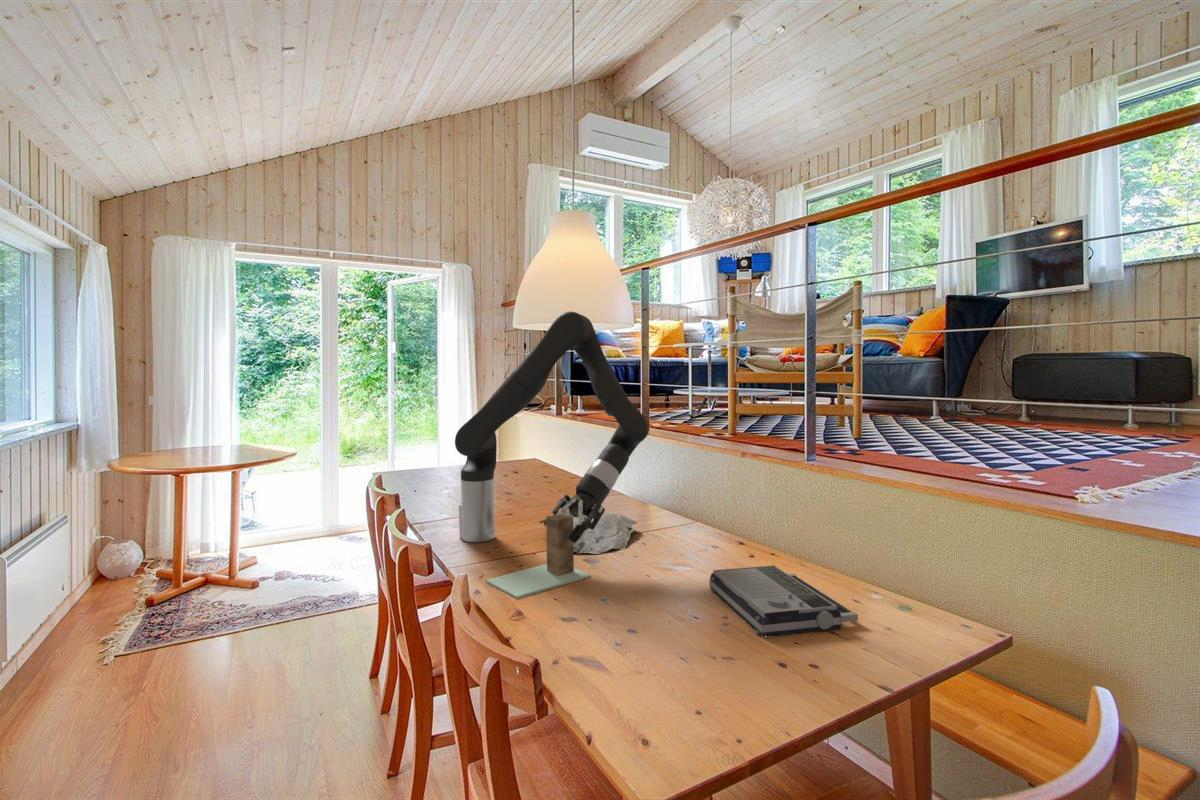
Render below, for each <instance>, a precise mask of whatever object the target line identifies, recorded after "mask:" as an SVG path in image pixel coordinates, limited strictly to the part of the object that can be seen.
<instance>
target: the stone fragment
mask: <svg viewBox="0 0 1200 800" xmlns="http://www.w3.org/2000/svg"><path fill="white" fill-rule="evenodd" d="M593 520H594V519H592V520H591V522H593ZM538 522H539V524H543V525H544V526H543V527H545V529H547V527H546V518H545V519H543V520H539V521H538ZM637 524H638V523H637V521H636V520H634V519H632V518H630V517H628V516H625V515H623V514H621V513H616V512H604V513H603V515H602V516H601V518H600V520H599V521H598V523H597V525H596V526H595V528H594V529H593V530H591V529H587V530H585V531H584V532H583V534H582V535H581V537H580V539H579V540H578V541H577V542H576V543H574V542H573V544H574V553H576V554H577V555H579V554H588V553H589V554H593V555H598V554H603V553H605V552H608V551H609V550H612V549H614V550H616V551H618V550H617V549H621V548H624V547H627V548H628V546H627V545H628V541H629V540H630V537H631V533H632V532H634V531H635V529H634V527H635V526H636V525H637ZM576 525H579V518H578V517H573V530H574V528H575V527H576ZM621 550H622V549H621Z"/></svg>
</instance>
